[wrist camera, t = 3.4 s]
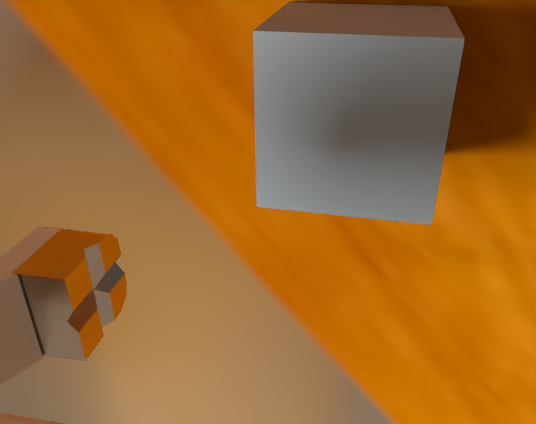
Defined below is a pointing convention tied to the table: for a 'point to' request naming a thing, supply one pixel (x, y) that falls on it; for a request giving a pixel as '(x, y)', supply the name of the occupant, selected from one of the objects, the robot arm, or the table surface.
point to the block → (354, 108)
